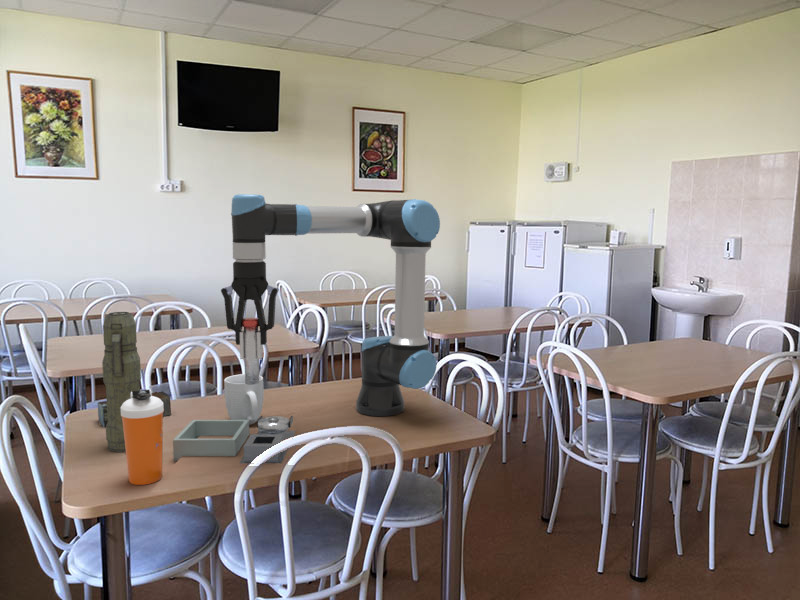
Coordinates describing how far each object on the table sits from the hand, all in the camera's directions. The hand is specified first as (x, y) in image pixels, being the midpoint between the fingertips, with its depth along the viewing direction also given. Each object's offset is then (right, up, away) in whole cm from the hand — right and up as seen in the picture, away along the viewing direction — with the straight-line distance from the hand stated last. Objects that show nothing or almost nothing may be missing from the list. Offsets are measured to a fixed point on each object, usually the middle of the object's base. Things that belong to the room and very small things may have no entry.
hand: (251, 357), depth 144 cm
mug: (-9, -22, +30) cm, 38 cm away
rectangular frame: (-12, -25, +9) cm, 29 cm away
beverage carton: (-43, -22, +34) cm, 59 cm away
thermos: (-36, -24, +12) cm, 45 cm away
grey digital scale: (+2, -25, +9) cm, 26 cm away
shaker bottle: (-22, -27, -8) cm, 36 cm away
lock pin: (0, -6, +1) cm, 6 cm away
